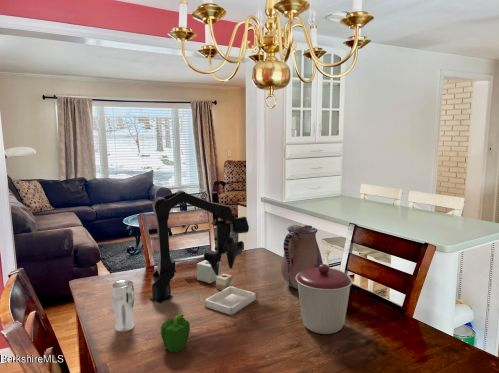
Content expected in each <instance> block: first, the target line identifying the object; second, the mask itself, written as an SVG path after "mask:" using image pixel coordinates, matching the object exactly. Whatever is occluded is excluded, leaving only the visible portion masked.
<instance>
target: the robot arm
mask: <svg viewBox="0 0 499 373" xmlns="http://www.w3.org/2000/svg"><path fill="white" fill-rule="evenodd" d="M181 203H185V204H188V205H190V206H192V207H196V208H199V209H201V210H204V211H206V212H209V213H211V214H212V215H214V216H215V217H217V218H219V219H221V220H218V219H217V218H215V219H214V220H213V221H212V222H211V223H210V224H211V225H212V226H213V227H216V229H215V230H216V236H215V237H214V241H216V246H214V250H215V251H214V250H209V251H206V252H205V253H204V254H203V259H204V260H206V261H208V262H209V263H210V265H211V267H212V269H213V270H214V272H215V274H216V275H218V273H219V263H220V262H221V263H222V260H221V258H222V255H224V254H226V258H227V263H228V268H229V269H233V267H234V264H235V260H236V257H238V256H240V255H241V254H242V252H243V251H244V250H245V242H244V241H242V240H239V241H238V242H237V241H236V242H235V241H234V238H233V237H232V236H231V233H233V234H234V235H238V234H246V233H248V232H249V230H250V226H249V222H248V220H247V219H248V218H247V217H246V216H241V217H235V216H234V214H233V212H232V208H231V207H230V206H228V205H226V204H223V203H219V202H211V201H208V200H205V199H204V198H201V197H197V196H196V195H193V194H190V193H188V192H186V191H184V190H178V191H176V192H173V193H169V194H167V195H164V196H157V197H155V198H154V199H152V203H151V206H152V210H153V213H154V217H155V219H156V227H157V228H156V229H157V230H156V231H157V242H158V244H157V245H158V255H159V256H158V259H157V267H156V270H155V271H154V273H153V274H152V275H151V279H152V281H153V283H152V284H151V290H152V291H151V293H152V295H151V296H150V297H149V300H151V301H154V302H157V303H159V304H162V303H163V302H166V301H168V300H170V299H172V298H173V297H174V295H172V294H171V281H172V279H173V278H174V277H175V275H176V274H175V273H177V271H176V261H175V259H174V258H173V257H171V256H170V255H171V254H170V239H169V238H170V236H169V225H168V224H169V223H168V222H169V221H168V220H169V218H170V213H171V212H170V210H171V209H172V208H175V207H176V206H178V205H180V204H181ZM204 260H203V261H204Z"/></svg>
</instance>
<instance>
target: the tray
mask: <svg viewBox="0 0 499 373" xmlns="http://www.w3.org/2000/svg"><path fill="white" fill-rule="evenodd" d="M256 300H257V293H256V292H253V291H249V290H246V289H243V288H239V287H235V286H233V287H232V286H229V287H228V288H226V289H224V290H220V291H219V292H216V293H215V294H213V295H211V296H209V297H207V298H206V299H204V307H205V308H208V309H212V310H215V311H217V312H221V313H224V314H227V315H230V316H233V315H234V314H236V313H237V312H239V311H240V310H242V309H244V308H245V307H246V306H248V305H250V304H251V303H252V302H254V301H256Z"/></svg>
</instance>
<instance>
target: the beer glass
mask: <svg viewBox="0 0 499 373" xmlns="http://www.w3.org/2000/svg"><path fill="white" fill-rule="evenodd" d="M111 302H112V306H113V307H112V308H113V310H114V311H113V312H114V315H115V325H114V326H115V327H114V329H115V331H116V332H119V333H120V332H121V333H124V332H125V333H126V332H130V331H132V330H133V329H134V328H135V321H134V314H133V313H134V308H135V307H134V306H135V288H134V282H133V281H132V280H130V279H124V280H118V281H115V282H113V283H112V285H111Z"/></svg>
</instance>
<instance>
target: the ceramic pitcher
mask: <svg viewBox="0 0 499 373" xmlns="http://www.w3.org/2000/svg"><path fill="white" fill-rule="evenodd" d="M286 230H287V231H288V233H287V234H286V235H285V238H284V240H283V245H282V246H283V255H282V259H281V265H280V271H281V276H282V278H283V279H284V281H285V282H286V283H287V284H288V285H289V286H290V287H291V288H294V289H296V290H298V282H297V281H296V279H295V277H296V275H297V274H298V273H300V272H302V271H303V270H306V269H309V268H316V267H319V265H321V264H324V263H323V258H322V254H321V250H320V247H319V243H318V241H317V238H316V237H317V235H316V234H317V232H318V231H319V230H318V229H317V228H316V227H313V226H312V225H307V224H306V225H304V226H301V225H297V224H293V225H289V226H287V228H286Z"/></svg>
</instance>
